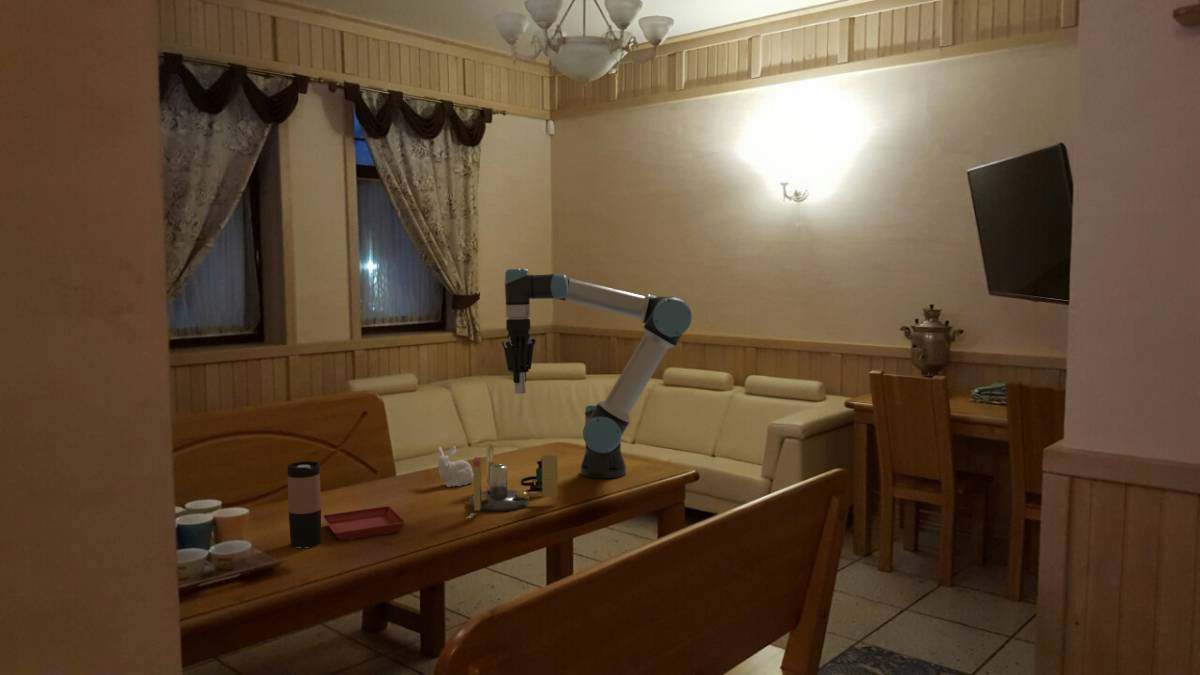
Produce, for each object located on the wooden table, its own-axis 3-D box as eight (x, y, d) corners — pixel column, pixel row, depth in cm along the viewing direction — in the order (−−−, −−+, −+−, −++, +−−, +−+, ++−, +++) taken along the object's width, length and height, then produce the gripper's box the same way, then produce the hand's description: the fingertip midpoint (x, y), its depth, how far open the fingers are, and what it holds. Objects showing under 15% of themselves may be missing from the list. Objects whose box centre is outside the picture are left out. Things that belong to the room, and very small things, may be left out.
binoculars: (522, 457, 270) (553, 455, 268) (526, 491, 271) (557, 489, 269) (514, 463, 262) (546, 461, 260) (518, 498, 262) (550, 496, 260)
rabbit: (440, 489, 271) (439, 451, 270) (434, 482, 280) (433, 445, 279) (478, 485, 276) (478, 447, 275) (471, 478, 284) (470, 442, 283)
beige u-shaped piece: (474, 499, 249) (473, 451, 248) (488, 499, 250) (487, 451, 249) (469, 511, 237) (468, 461, 236) (484, 510, 237) (483, 460, 236)
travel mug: (294, 539, 220) (291, 461, 219) (325, 538, 221) (322, 460, 219) (286, 549, 212) (283, 468, 211) (318, 548, 213) (315, 467, 212)
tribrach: (570, 494, 263) (569, 447, 261) (533, 524, 232) (532, 470, 231) (488, 489, 270) (487, 443, 269) (442, 517, 239) (441, 465, 238)
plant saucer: (334, 545, 217) (334, 531, 217) (321, 526, 233) (321, 514, 233) (406, 534, 225) (406, 521, 225) (389, 517, 241) (389, 505, 241)
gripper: (524, 316, 281) (526, 389, 282) (494, 319, 270) (496, 394, 272) (541, 317, 276) (543, 391, 278) (511, 319, 265) (513, 396, 267)
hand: (520, 393), depth 275 cm, fingers closed
